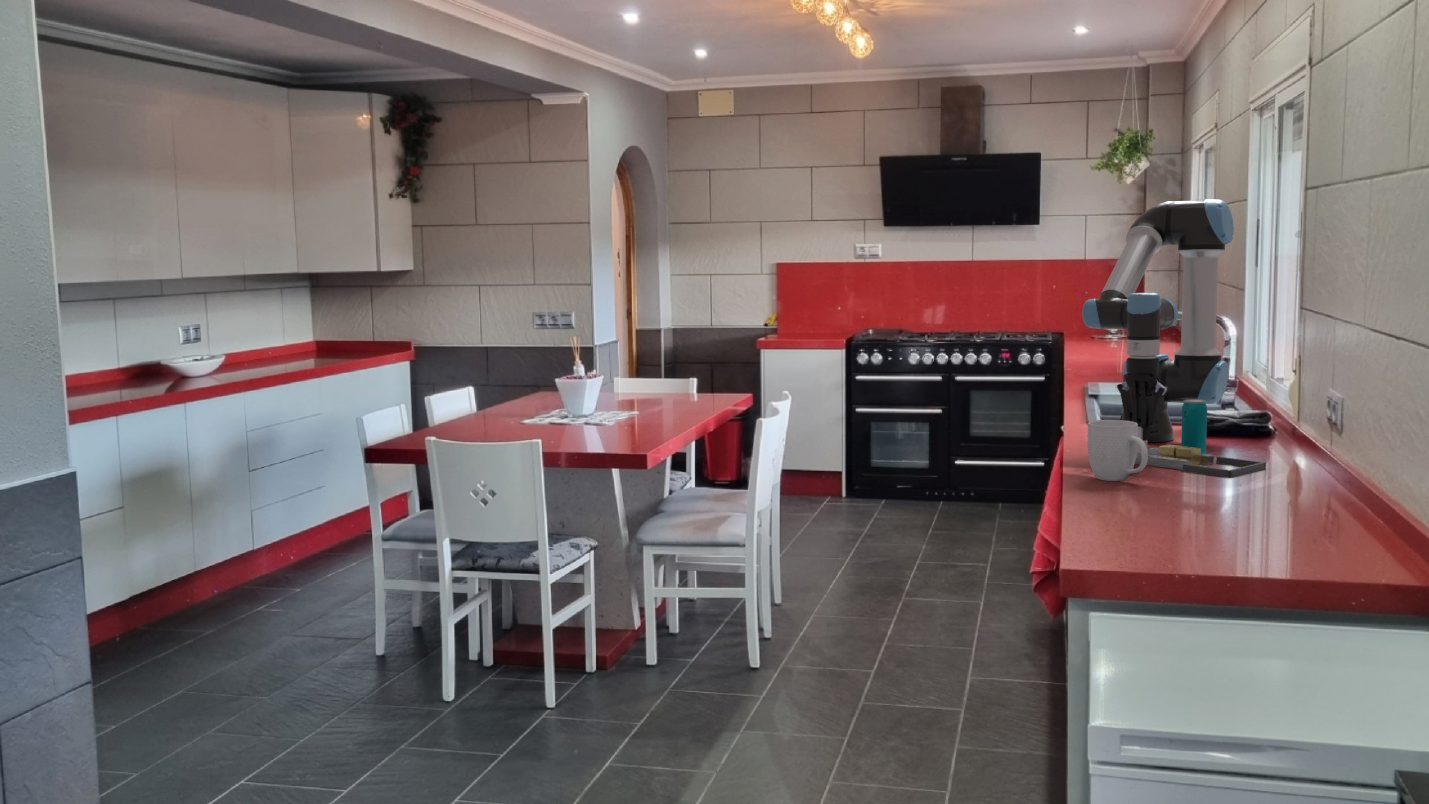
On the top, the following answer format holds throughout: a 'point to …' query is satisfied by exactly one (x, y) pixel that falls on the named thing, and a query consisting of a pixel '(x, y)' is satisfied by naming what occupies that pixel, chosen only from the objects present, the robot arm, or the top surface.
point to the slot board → (1171, 460)
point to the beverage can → (1194, 424)
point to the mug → (1114, 449)
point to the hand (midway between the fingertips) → (1141, 453)
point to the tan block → (1168, 450)
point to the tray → (1245, 469)
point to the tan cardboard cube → (1189, 454)
